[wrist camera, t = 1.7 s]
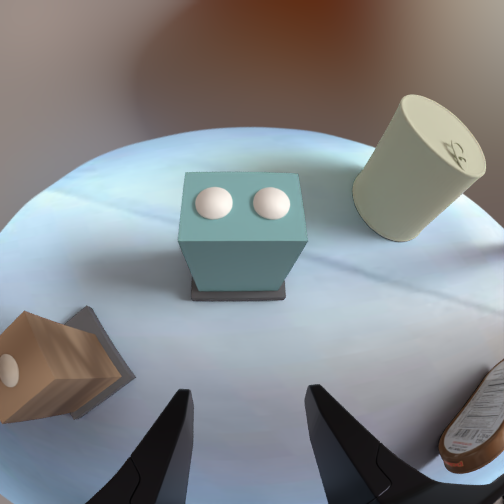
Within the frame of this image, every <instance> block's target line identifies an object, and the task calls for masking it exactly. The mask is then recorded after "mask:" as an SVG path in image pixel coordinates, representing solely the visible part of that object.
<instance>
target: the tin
mask: <svg viewBox="0 0 504 504" xmlns="http://www.w3.org/2000/svg"><path fill="white" fill-rule="evenodd" d="M503 450H504V359H503V360H501V361H500V362H499V363H498V364H497V365H495V366H494V367H493V368H492V369H491V370H490V371H489V373H488V374H487V375H486V376H485V378H484V379H483V380H482V382H481V383H480V385H479V386H478V388H477V389H476V391H475V392H474V393H473V395H472V396H471V397H470V399H469V400H468V402H467V403H466V404H465V405H464V407H463V408H462V409H461V411H460V412H459V413H458V414H457V416H456V417H455V418H454V419H453V420H452V422H451V423H450V424H449V425H448V427H447V428H446V429H445V431H444V432H443V434H442V436H441V438H440V441H439V453H440V455H441V457H442V459H443V461H444V465H445V467H446V469H447V470H448V471H450V472H452V473H456V474H463V473H469V472H472V471H475V470H478V469H480V468H482V467H484V466H485V465H487V464H488V463H490V462H491V461H493V460H494V459H495V458H496V457H497V456H498V455H500V454H501V453H502V451H503Z"/></svg>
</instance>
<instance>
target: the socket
mask: <svg viewBox="0 0 504 504" xmlns="http://www.w3.org/2000/svg"><path fill="white" fill-rule="evenodd" d="M64 325H66V326H69V327H72V328H75V329H78V330H82V331H85V332H88V333H92V334H95V335H96V337H97V339H98V340H99V342H100V344H101V345H102V347H103V348H104V350H105V352H106V353H107V355H108V356H109V358H110V360H111V361H112V363H113V364H114V366H115V367H116V369H117V370H118V372H119V373H120V374H121V376H122V377H121V378H119V379H118V380H117V381H115V382H114V383H113V384H111V385H110V386H109V387H107V388H106V389H105V390H103V391H102V392H101V393H99V394H98V395H97V396H95V397H94V398H93V399H91V400H90V401H88V402H87V403H86V404H84V405H83V406H82V407H80V408H79V409H78V410H76V411H75V412H72V413H70V414H71V416H72V417H73V419H74V420H75V419H79V418H81V417H82V416H84V415H85V414H86V413H88V412H89V411H91V410H92V409H93V408H95V407H96V406H98V405H99V404H100V403H102V402H103V401H105V400H106V399H107V398H109V397H110V396H111V395H113V394H114V393H115V392H117V391H118V390H120V389H121V388H122V387H124V386H125V385H126V384H128V383H129V382H130V381H132V380H133V379H134V378H136V377H135V375H134V374H133V373H132V371H131V370H130V368H129V367H128V366H127V364H126V363H125V361H124V360H123V358H122V357H121V355H120V354H119V352H118V351H117V349H116V348H115V346H114V344H113V343H112V341H111V340H110V338H109V336H108V335H107V333H106V332H105V330H104V328H103V327H102V325H101V323H100V322H99V320H98V318H97V316H96V315H95V313H94V311H93V309H92V308H91V307H88V306H86V307H84V308H83V309H82V310H81V311H80V312H78V313H77V314H76V315H75V316H74V317H72V318H71V319H70V320H69V321H68V322H67V323H65V324H64Z"/></svg>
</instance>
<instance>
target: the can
mask: <svg viewBox="0 0 504 504" xmlns="http://www.w3.org/2000/svg"><path fill="white" fill-rule="evenodd" d="M485 170H486V162H485V157H484V154H483V152H482V150H481V147H480V146H479V144H478V142H477V140H476V139H475V138H474V136H473V135H472V133H471V132H470V131H469V130H468V128H467V127H466V126H465V125H464V124H463V123H462V122H461V121H460V120H459V119H458V118H456V116H455V115H454V114H452V113H451V112H450V111H449V110H447V109H446V108H444V107H443V106H441V105H440V104H438V103H436V102H434V101H432V100H430V99H428V98H425V97H422V96H419V95H407V96H405V97H403V98H402V99H401V101H400V105H399V107H398V109H397V111H396V112H395V114H394V117H393V118H392V120H391V122H390V124H389V126H388V128H387V129H386V131H385V133H384V135H383V137H382V138H381V140H380V142H379V143H378V145H377V147H376V149H375V150H374V152H373V154H372V155H371V157H370V159H369V160H368V162H367V164H366V165H365V167H364V169H363V170H362V172H361V173H360V174H359V175H358V176H357V177H356V179H355V181H354V184H353V190H352V192H353V199H354V203H355V206H356V208H357V210H358V212H359V214H360V216H361V217H362V218H363V220H364V221H365V222H366V223H367V225H368V226H369V227H370V228H372V229H373V230H374V231H375V232H376V233H378V234H379V235H381V236H383V237H385V238H387V239H390V240H392V241H398V242H405V241H409V240H412V239H414V238H415V237H417V236H418V235H419V234H420V232H421V231H422V230H423V229H424V228H425V227H426V226H427V225H428V224H429V223H430V222H432V221H433V220H434V219H435V218H436V217H437V216H438V215H439V214H440V213H442V212H443V211H444V210H445V209H446V208H447V207H448V206H449V205H450V204H451V203H453V202H454V201H455V200H456V199H457V198H458V197H459V196H460V195H461V194H462V193H463V192H465V191H466V190H467V189H468V188H469V187H470V186H471V185H472V184H473V183H474V182H475V181H476V180H477V179H479V178H480V177H482V176H483V175H484V173H485Z"/></svg>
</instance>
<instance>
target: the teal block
mask: <svg viewBox="0 0 504 504" xmlns="http://www.w3.org/2000/svg"><path fill="white" fill-rule="evenodd" d="M178 242H179V245H180V247H181V250H182V252H183V255H184V257H185V260H186V262H187V264H188V267H189V269H190V272H191V274H192V276H193V279H194V281H195V283H196V286H197V288H198V290H199V291H278V290H279V288H280V286H281V285H282V283H283V282H284V280H285V278H286V277H287V275H288V273H289V272H290V270H291V268H292V267H293V265H294V264H295V262H296V260H297V259H298V257H299V255H300V254H301V252H302V250H303V248H304V247H305V245H306V243H307V242H308V238H307V230H306V223H305V215H304V208H303V201H302V195H301V188H300V182H299V176H298V174H295V173H271V172H186V173H185V179H184V187H183V196H182V205H181V214H180V224H179V236H178Z"/></svg>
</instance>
